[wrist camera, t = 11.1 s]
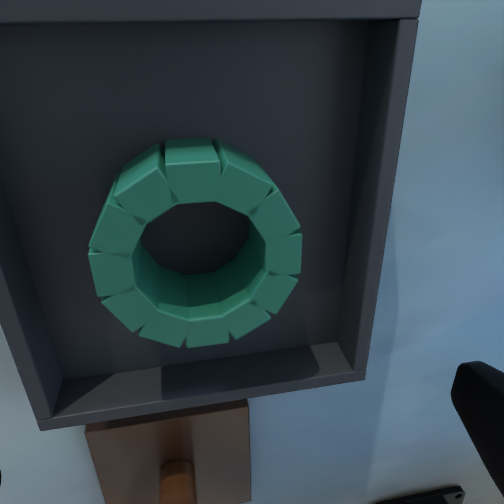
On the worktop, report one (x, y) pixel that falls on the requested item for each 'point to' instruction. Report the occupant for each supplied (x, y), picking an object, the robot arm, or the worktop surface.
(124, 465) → the stand
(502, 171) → the worktop surface
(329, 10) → the tray
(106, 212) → the ring
